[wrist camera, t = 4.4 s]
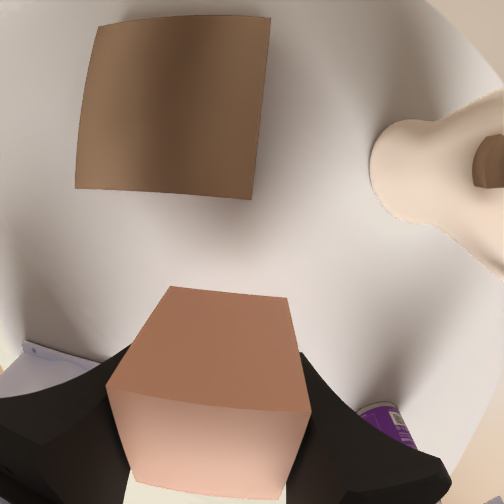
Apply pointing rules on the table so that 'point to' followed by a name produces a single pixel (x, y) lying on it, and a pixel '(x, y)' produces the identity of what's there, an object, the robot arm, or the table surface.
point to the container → (388, 422)
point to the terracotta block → (212, 395)
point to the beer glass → (448, 176)
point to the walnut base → (174, 106)
